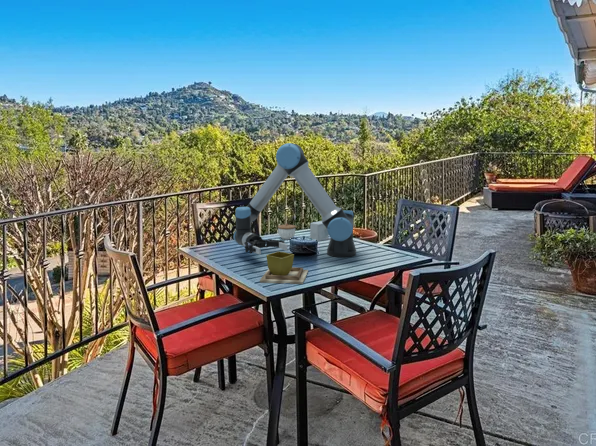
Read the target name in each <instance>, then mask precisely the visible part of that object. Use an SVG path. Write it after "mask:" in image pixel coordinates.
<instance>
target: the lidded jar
mask: <svg viewBox="0 0 596 446" xmlns="http://www.w3.org/2000/svg"><path fill="white" fill-rule="evenodd" d="M277 233H278V235H279V237H280V238H281V240H284V241H285V240H287V241H288V240H291V239H290V238H292V239H293V238H294V236H295V234H296V225H294V224H289V223H287V222H286V223H285V224H280V225H277Z"/></svg>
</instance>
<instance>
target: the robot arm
mask: <svg viewBox="0 0 596 446" xmlns="http://www.w3.org/2000/svg"><path fill="white" fill-rule="evenodd" d="M275 154H276V155H275V159H276V164H277V165H276V166H275V168H274V169H273V170H272V172H271V173H270V175H269V176H268V177H267V178H266V180H265V181H264V183H263V184H262V186H261V187H260V188H259V189H258V190H257V192H256V194H255V195H254V196H253V198H252V199H251V200H250V202H249V203H248V204H247V206H239V207H236V208H235V227H236V228H235V231H234V233H233V240H234V242H235V243H236V244H238V245H240V246H242V247H244V248H245V253H248V252H249V254H253V253H254V254H256V255H262V252H261V251H262V248H265V249H266V248H268V247H269V248H278V249H281V250H284V251H288V244H287V243H285V240H283V239H280V240H276V239H270V238H268V239H263V238H262V237H261V236H260V235H258V234H256V233H253V232H252V222H254V221H256V219H258V217H259V215H260V214H261V212H262V211H263V209H264V208H265V207H266V206H267V204H268V203H269V201H270V200H271V199H272V197H273V196H274V195H275V193H276V192H277V191H278V189H279V188H280V187H281V186H282V184H283V182H284V181H285V180H286V179H287V177H288V176H289V177H293V178H294V179H295V181H296V182H297V184H298V185H299V187H300V188H301V189H302V191H303V193H304V194H305V195H306V197H307V198H308V199H309V200H310V202H311V203H312V205H313V207H314V208H315V209H316V210H317V212H318V214H319V215H320V216H321V221H322V223H323V224H324V226H325V227H326V229H327V231H328V234H329V237H330V240H329V243H328V246H327V248H326V249H327V250H326V254H327V256H330V257H336V258H350V257H354V256H356V255H357V248H356V245H355V242H354V216H355V215H354V211H353V210H343V209H342V207H338V206H336V204H335V202H334V201H333V199H332V198H331V196H329V194H328V192H327V191H326V189H324V187H323V185H322V184H321V183H320V181H319V179H318V178H317V177H316V176H315V175H314V173H313V171H312V170H311V169H310V167H309V160H308V159H307V157H306V156H305V153H304V149H303V148H302V147H301V146H300V145H299V144H297V143H289V142H288V143H284V144H282V145H281V146H280V147H278V148H277V150H276V153H275Z"/></svg>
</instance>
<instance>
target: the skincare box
mask: <svg viewBox="0 0 596 446" xmlns="http://www.w3.org/2000/svg"><path fill="white" fill-rule="evenodd" d="M309 230H310V231H309V239H310V238H312V239H316V240H318V241H317V242H320V241H321V242H322V241H324V240H329V237H330V236H329V234H328V231H327V229H326V227H325V226H324V224H323V223H322V220H319V221H313V222H310V228H309Z"/></svg>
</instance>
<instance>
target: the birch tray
mask: <svg viewBox="0 0 596 446" xmlns="http://www.w3.org/2000/svg"><path fill="white" fill-rule="evenodd" d="M307 273H308V274H309V269H304V267H296V266H295V267H294V266H292V268H291V270H290V272H289V274H287V275H285V276H284V275H272V274H271V272H270V270H269V268H267V270H266V271H265V272H264V274H263V275H262V277H260V279H259V283H261V284H262V283H264V284H284V283H290V284H289V285H304V283H305V280H306V278H307V276H306V275H308V274H307ZM303 282H304V283H303Z"/></svg>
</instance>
